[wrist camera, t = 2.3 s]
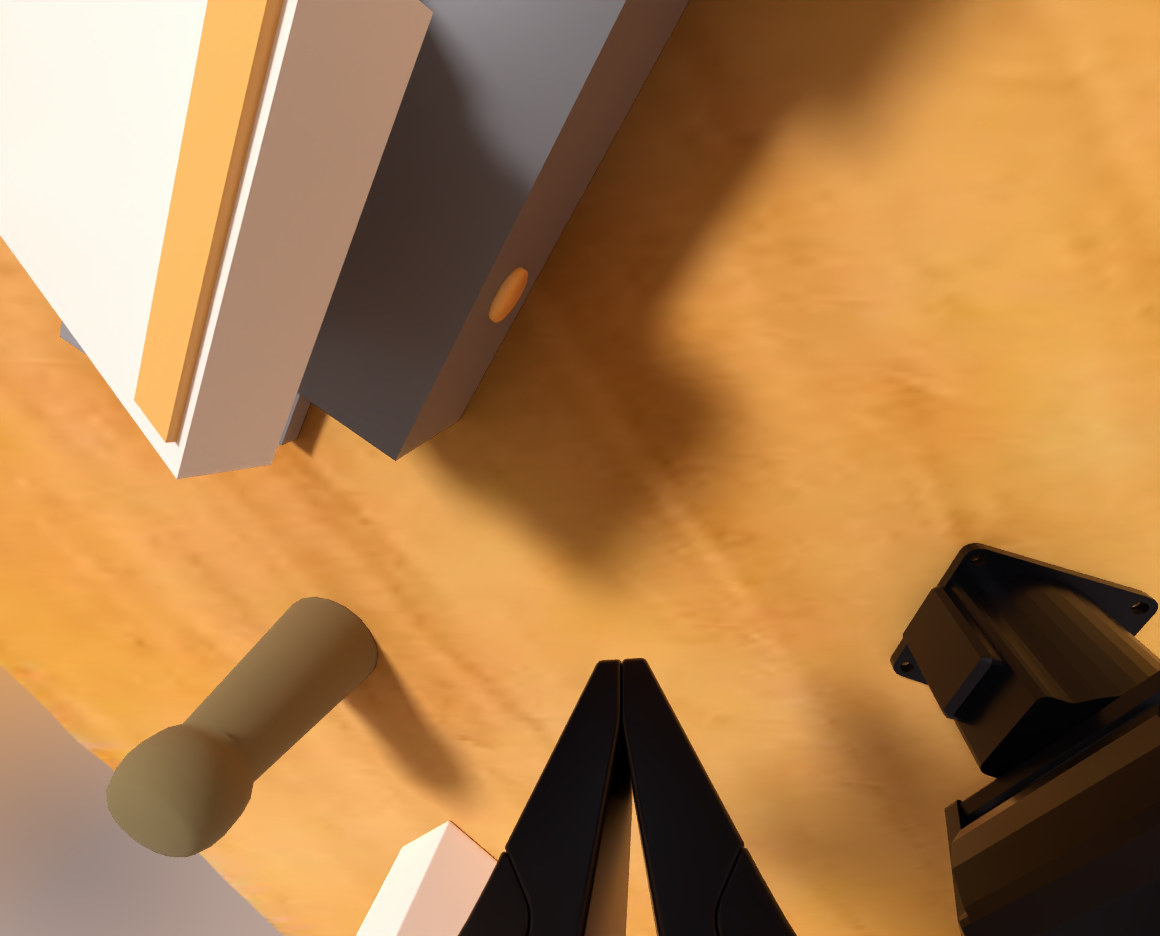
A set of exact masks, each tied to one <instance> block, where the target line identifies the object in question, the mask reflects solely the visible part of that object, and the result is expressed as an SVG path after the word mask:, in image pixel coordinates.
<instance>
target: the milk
mask: <svg viewBox="0 0 1160 936" xmlns="http://www.w3.org/2000/svg"><path fill="white" fill-rule="evenodd" d="M496 863H497V861H496V860H495V859H494V858H493V857H492V856H490V855H489V854H488V853H487V852H486V851H485V850H483V849H482V848H481V847H480V846H479V845H478V844H476V843H475V842H474V841H473V840H472V839H470V838H469V837H468V836H467V835H466V834H465V833H463V832H462V831H461V830H460V829H459V828H458V827H456V826H455V825H454V824H453V823H452V822H450V821H447V822H445V823H444V824H442V825H440V826H438V827H437V828H435V829H433V830H431V831H430V832H428V833H426V834H424V835H423V836H421V837H419V838H417V839H416V840H414V841H412V842H410V843H408V844H407V845H405V846H403V847H402V849H401V851H400V853H399V855H398V856H397V858H396V860H395V862H394V864H393V866H392V868H391V870H390V872H389V874H388V876H387V877H386V879H385V881H384V883H383V885H382V887H381V889H380V891H379V893H378V895H377V897H376V899H375V900H374V902H373V904H372V906H371V908H370V910H369V912H368V914H367V916H366V918H365V920H364V921H363V923H362V925H361V927H360V929H359V931H358V933H357V935H356V936H458V934H459V932H460V931H461V929H462V927H463V926H464V924H465V922H466V921H467V919H468V917H469V915H470V913H471V911H472V909H473V908H474V906H475V904H476V902H477V900H478V898H479V896H480V894H481V893H482V891H483V889H484V887H485V885H486V883H487V881H488V879H489V877H490V875H491V873H492V871H493V869H494V867H495V865H496Z"/></svg>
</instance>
